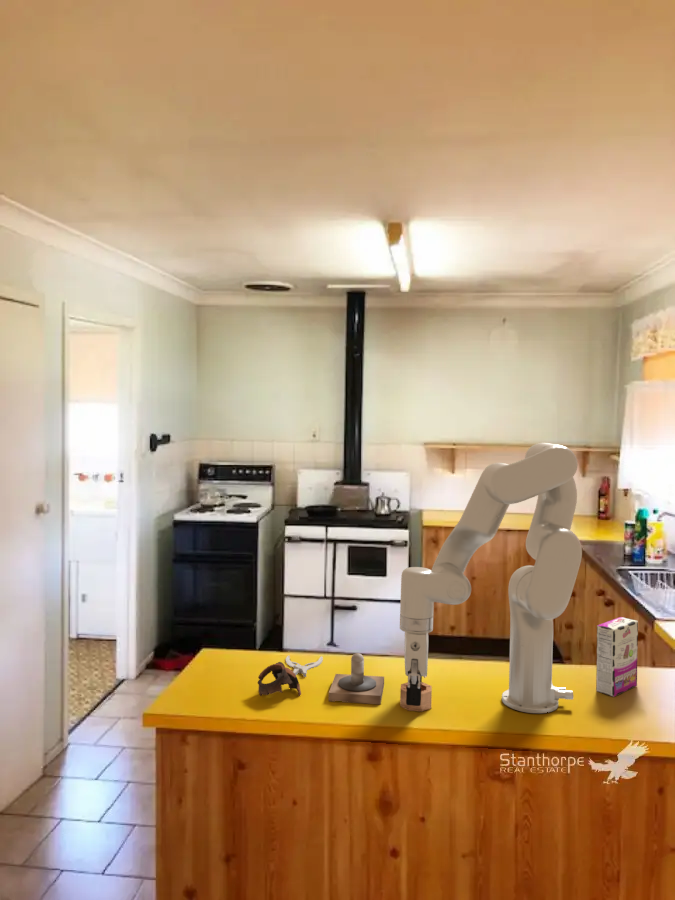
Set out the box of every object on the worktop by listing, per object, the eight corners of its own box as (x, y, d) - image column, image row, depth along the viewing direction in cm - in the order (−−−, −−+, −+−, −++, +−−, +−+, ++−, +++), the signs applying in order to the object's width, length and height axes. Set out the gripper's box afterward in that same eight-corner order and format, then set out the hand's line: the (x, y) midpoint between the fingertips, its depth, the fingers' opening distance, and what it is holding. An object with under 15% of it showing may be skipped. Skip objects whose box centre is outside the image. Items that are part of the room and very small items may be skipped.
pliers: (323, 653, 196) (318, 673, 181) (323, 659, 196) (318, 679, 181) (287, 652, 196) (279, 672, 181) (287, 658, 196) (279, 678, 181)
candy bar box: (618, 680, 181) (620, 616, 180) (637, 686, 177) (639, 620, 176) (594, 691, 174) (596, 624, 173) (613, 697, 170) (615, 629, 169)
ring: (431, 699, 168) (431, 682, 168) (431, 712, 161) (431, 694, 161) (401, 697, 169) (401, 681, 168) (399, 710, 162) (400, 692, 162)
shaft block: (384, 684, 177) (384, 646, 176) (380, 704, 165) (381, 663, 164) (335, 681, 178) (335, 644, 178) (328, 701, 166) (328, 660, 166)
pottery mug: (306, 703, 167) (290, 676, 164) (269, 720, 167) (253, 694, 164) (301, 671, 178) (286, 646, 175) (266, 688, 178) (251, 663, 175)
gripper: (433, 635, 155) (430, 713, 156) (433, 613, 172) (430, 683, 173) (398, 633, 156) (395, 710, 157) (401, 611, 173) (399, 681, 174)
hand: (413, 696), depth 165 cm, fingers open, 9 cm apart
